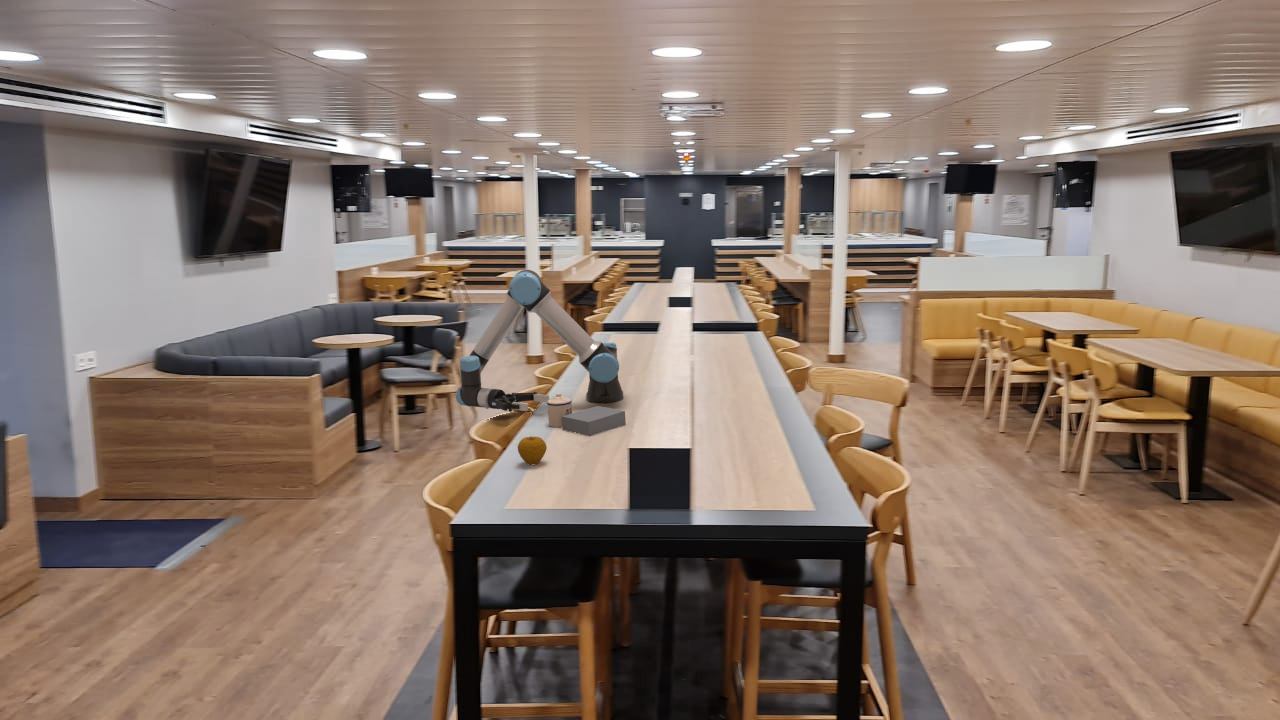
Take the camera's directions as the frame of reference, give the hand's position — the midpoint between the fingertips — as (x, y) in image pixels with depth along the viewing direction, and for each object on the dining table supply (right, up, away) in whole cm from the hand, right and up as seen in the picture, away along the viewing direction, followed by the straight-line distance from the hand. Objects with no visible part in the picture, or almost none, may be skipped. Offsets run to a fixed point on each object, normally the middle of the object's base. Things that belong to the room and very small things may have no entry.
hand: (538, 403), depth 327 cm
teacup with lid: (+9, -8, -3) cm, 12 cm away
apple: (+4, -17, -50) cm, 53 cm away
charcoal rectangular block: (+21, -8, -11) cm, 25 cm away
